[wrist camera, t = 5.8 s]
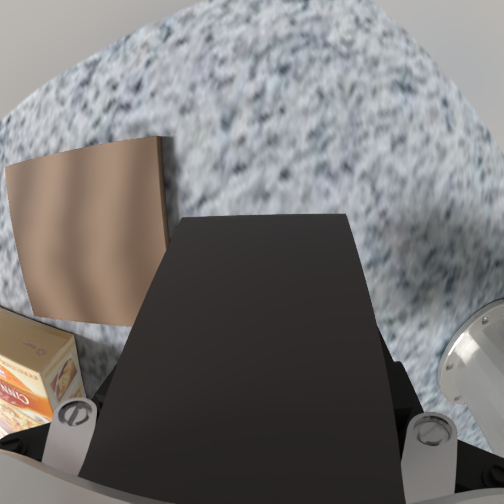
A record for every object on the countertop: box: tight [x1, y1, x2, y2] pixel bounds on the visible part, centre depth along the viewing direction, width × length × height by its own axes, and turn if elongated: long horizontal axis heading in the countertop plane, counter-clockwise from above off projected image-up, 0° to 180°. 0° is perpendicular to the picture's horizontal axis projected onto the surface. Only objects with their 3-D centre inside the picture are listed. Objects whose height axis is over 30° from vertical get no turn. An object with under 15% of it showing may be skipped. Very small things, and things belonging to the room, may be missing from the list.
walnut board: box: [5, 136, 170, 327], centre depth 24 cm, size 16×15×1 cm
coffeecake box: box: [0, 307, 86, 438], centre depth 28 cm, size 15×7×20 cm
